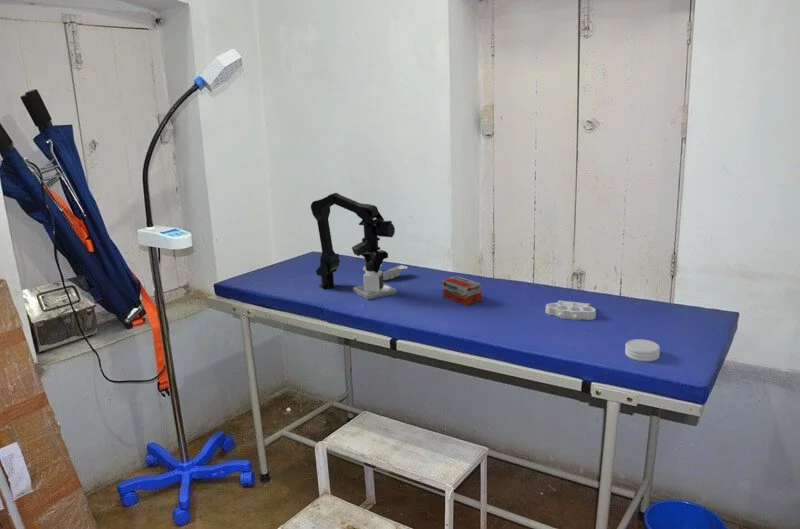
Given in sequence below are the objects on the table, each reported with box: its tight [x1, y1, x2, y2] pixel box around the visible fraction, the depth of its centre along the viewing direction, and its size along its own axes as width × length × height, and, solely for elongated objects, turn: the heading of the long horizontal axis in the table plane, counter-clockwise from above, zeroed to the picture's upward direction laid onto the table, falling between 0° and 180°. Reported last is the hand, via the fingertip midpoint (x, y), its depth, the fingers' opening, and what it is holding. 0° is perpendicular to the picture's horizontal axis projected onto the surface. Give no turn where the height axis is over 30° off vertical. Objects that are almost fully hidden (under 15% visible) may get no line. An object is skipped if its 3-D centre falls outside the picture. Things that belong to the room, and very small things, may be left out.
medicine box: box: [442, 275, 482, 307], centre depth 241 cm, size 15×8×8 cm, turn 37°
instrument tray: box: [352, 283, 397, 301], centre depth 256 cm, size 14×14×2 cm
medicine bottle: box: [362, 261, 385, 291], centre depth 254 cm, size 7×7×12 cm
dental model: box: [362, 263, 408, 281], centre depth 278 cm, size 23×17×5 cm
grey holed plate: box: [545, 299, 597, 321], centre depth 220 cm, size 3×18×15 cm
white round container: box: [624, 338, 661, 362], centre depth 183 cm, size 10×10×4 cm
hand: (373, 271), depth 254 cm, fingers closed on medicine bottle, 6 cm apart
